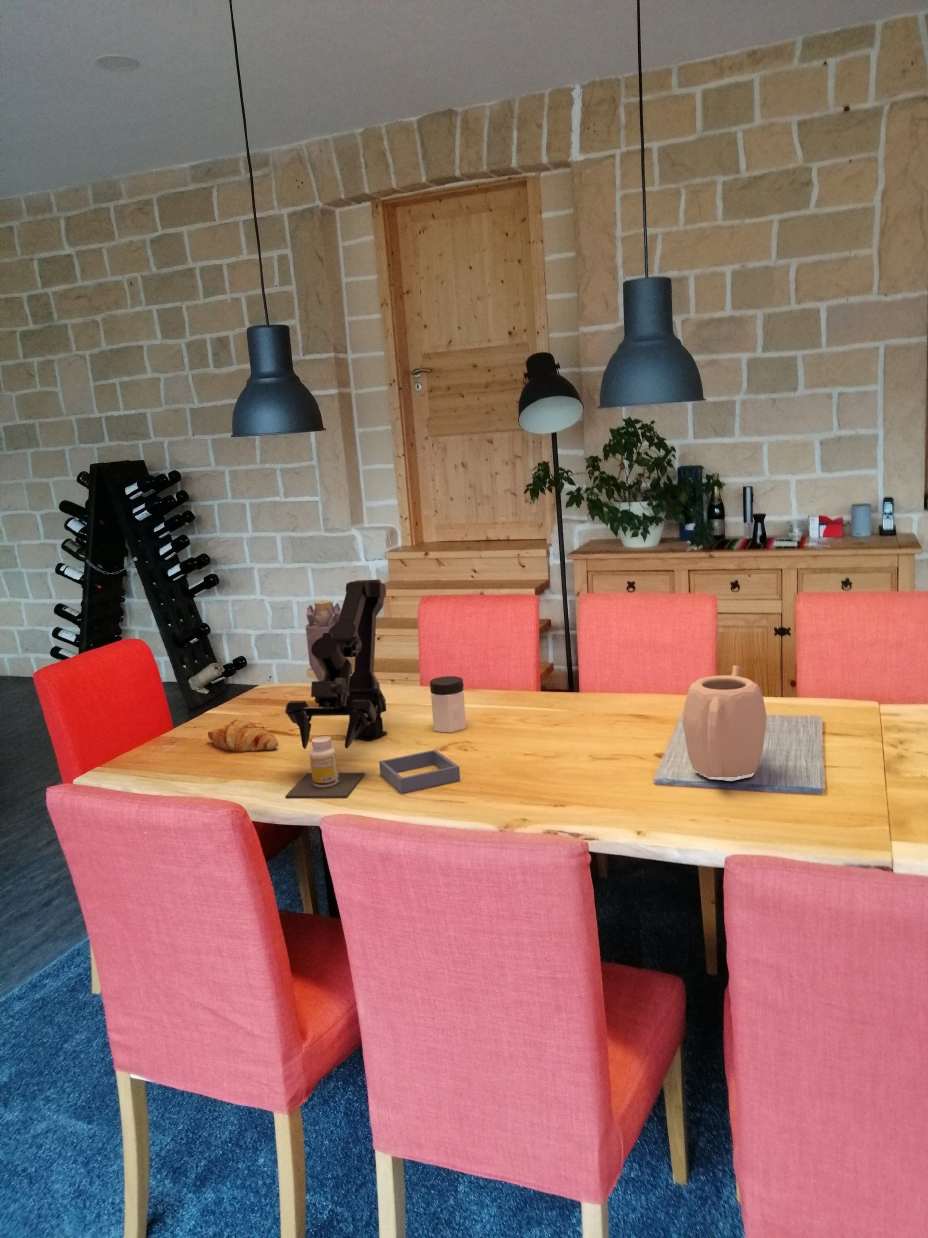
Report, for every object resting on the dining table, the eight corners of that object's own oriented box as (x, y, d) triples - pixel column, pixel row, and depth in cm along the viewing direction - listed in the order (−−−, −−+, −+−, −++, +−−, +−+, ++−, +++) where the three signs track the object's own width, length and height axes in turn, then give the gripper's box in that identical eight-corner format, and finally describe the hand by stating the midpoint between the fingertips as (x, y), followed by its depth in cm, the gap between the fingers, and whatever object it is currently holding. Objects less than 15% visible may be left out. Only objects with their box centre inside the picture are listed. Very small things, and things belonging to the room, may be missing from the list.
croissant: (287, 760, 224) (293, 727, 226) (262, 754, 215) (269, 720, 217) (218, 751, 233) (225, 720, 235) (191, 745, 224) (198, 712, 226)
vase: (350, 713, 247) (339, 602, 242) (311, 716, 247) (300, 604, 241) (354, 702, 257) (343, 595, 252) (316, 705, 257) (305, 598, 252)
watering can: (776, 752, 195) (775, 665, 192) (756, 799, 172) (755, 701, 168) (701, 746, 202) (699, 662, 199) (672, 791, 179) (669, 696, 175)
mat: (307, 775, 202) (306, 773, 202) (364, 774, 200) (364, 772, 200) (285, 798, 189) (285, 795, 189) (346, 798, 187) (346, 795, 187)
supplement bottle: (323, 777, 198) (318, 733, 196) (344, 780, 196) (339, 736, 194) (307, 786, 194) (302, 741, 192) (328, 789, 191) (324, 744, 189)
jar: (443, 735, 223) (439, 687, 220) (425, 728, 229) (421, 681, 227) (474, 727, 227) (470, 679, 225) (456, 720, 234) (452, 674, 232)
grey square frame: (380, 774, 199) (379, 761, 198) (436, 762, 204) (435, 749, 203) (401, 793, 187) (400, 779, 187) (460, 780, 192) (459, 766, 192)
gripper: (283, 665, 198) (269, 731, 190) (367, 662, 195) (357, 730, 186) (299, 690, 207) (287, 754, 199) (380, 688, 204) (371, 753, 196)
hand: (325, 748), depth 195 cm, fingers open, 9 cm apart
